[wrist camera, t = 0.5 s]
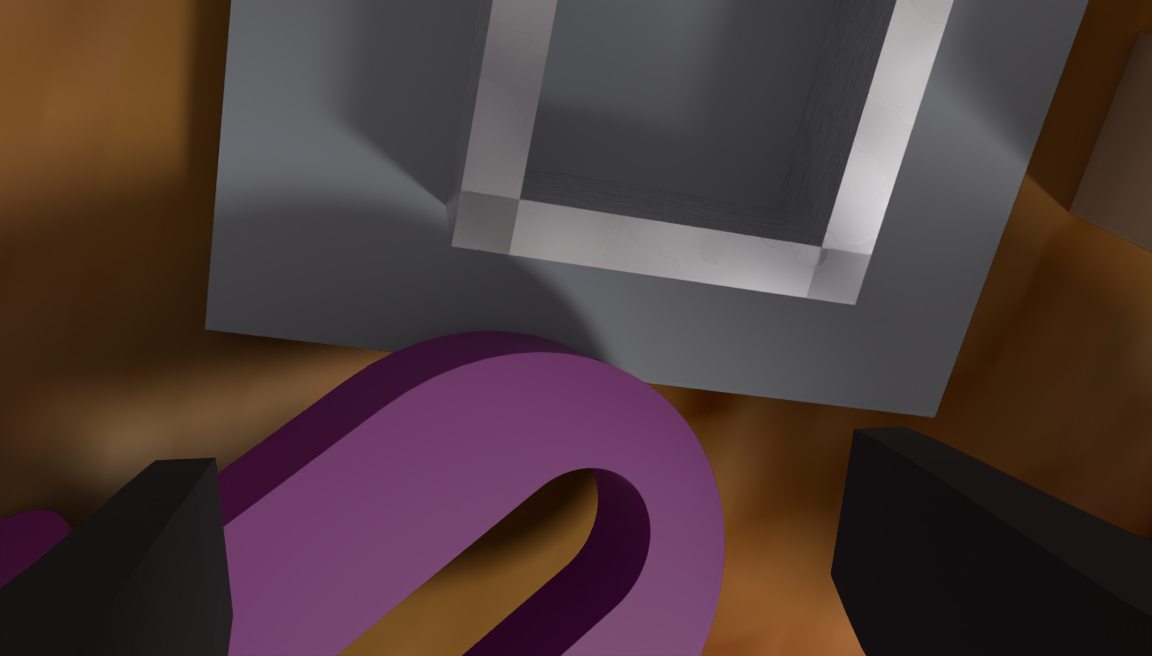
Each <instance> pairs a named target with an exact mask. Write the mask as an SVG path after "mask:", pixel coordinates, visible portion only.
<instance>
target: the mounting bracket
mask: <svg viewBox="0 0 1152 656" xmlns="http://www.w3.org/2000/svg"><path fill="white" fill-rule="evenodd" d="M583 468H591V469H592V471H593V473H594V476H595V479H596V484H597V489H598V507H597V514H596V519H595V522H594V525H593V528H592V531H591V533H590V535H589V537H588V539H587V541H586V543H585V544H584V546H583V548H582V549H581V550H580V552H579V553H578V554H577V555H576V557H575V558H574V559H573V560H572V561H571V562H570V563H569V564H568V565H567V566H566V567H564V568H563V569H562V570H561V571H560V572H559V573H558V574H556V575H555V576H554V577H553V578H552V579H551V580H549V581H548V582H547V583H546V584H545V585H544V586H542V587H541V588H540V589H539V590H538V591H537V592H535V593H534V594H533V595H532V596H531V597H530V598H528V599H527V600H526V601H525V602H524V603H523V604H521V605H520V606H519V607H518V608H517V609H516V610H515V611H513V612H512V613H511V614H510V615H509V616H508V617H506V618H505V619H504V620H503V621H502V622H501V623H499V624H498V625H497V626H496V627H495V628H494V629H492V630H491V631H490V632H489V633H488V634H487V635H485V636H484V637H483V638H482V639H481V640H480V641H478V642H477V643H476V644H475V645H474V646H473V647H472V648H470V649H469V650H468V651H467V652H466V653H465V654H463V655H462V656H700V655H701V652H702V650H703V647H704V645H705V642H706V640H707V637H708V635H709V631H710V628H711V625H712V622H713V618H714V615H715V612H716V607H717V603H718V598H719V594H720V589H721V582H722V574H723V567H724V545H725V539H724V522H723V514H722V507H721V501H720V496H719V492H718V488H717V484H716V481H715V477H714V474H713V471H712V469H711V466H710V464H709V461H708V459H707V456H706V454H705V452H704V450H703V448H702V446H701V444H700V443H699V441H698V439H697V437H696V435H695V434H694V432H693V431H692V430H691V428H690V427H689V425H688V424H687V422H686V421H685V420H684V418H683V417H682V416H681V415H680V414H679V413H678V411H677V410H676V409H675V408H674V407H673V406H672V405H671V404H670V403H669V402H668V401H667V400H666V399H665V398H664V397H663V396H661V395H660V394H659V393H658V392H657V391H655V390H654V389H653V388H652V387H650V386H649V385H647V384H646V383H644V382H643V381H641V380H640V379H638V378H637V377H635V376H633V375H631V374H629V373H627V372H625V371H623V370H621V369H619V368H617V367H615V366H612V365H610V364H608V363H605V362H603V361H601V360H598V359H596V358H593V357H591V356H589V355H586V354H584V353H582V352H579V351H577V350H574V349H572V348H570V347H567V346H565V345H562V344H560V343H557V342H554V341H551V340H548V339H545V338H542V337H538V336H533V335H528V334H523V333H518V332H505V331H474V332H464V333H458V334H451V335H445V336H441V337H437V338H434V339H430V340H426V341H423V342H419V343H416V344H414V345H411V346H409V347H406V348H404V349H401V350H399V351H396V352H394V353H392V354H390V355H388V356H386V357H384V358H382V359H380V360H378V361H376V362H374V363H372V364H370V365H369V366H367V367H366V368H364V369H363V370H361V371H360V372H358V373H357V374H355V375H353V376H352V377H350V378H349V379H347V380H346V381H344V382H343V383H342V384H340V385H339V386H338V387H336V388H335V389H333V390H332V391H331V392H329V393H328V394H327V395H325V396H324V397H323V398H321V399H320V400H318V401H317V402H316V403H314V404H313V405H312V406H310V407H309V408H307V409H306V410H305V411H303V412H302V413H301V414H299V415H298V416H296V417H295V418H294V419H292V420H291V421H290V422H288V423H287V424H285V425H284V426H283V427H281V428H280V429H279V430H277V431H276V432H274V433H273V434H272V435H270V436H269V437H268V438H266V439H265V440H264V441H262V442H261V443H259V444H258V445H257V446H255V447H254V448H253V449H251V450H250V451H248V452H247V453H246V454H244V455H243V456H242V457H240V458H239V459H237V460H236V461H235V462H233V463H232V464H231V465H229V466H228V467H226V468H225V469H224V470H222V471H221V472H220V473H218V482H219V491H220V500H221V509H222V518H223V527H224V536H225V545H226V554H227V563H228V572H229V581H230V590H231V598H232V607H233V622H232V629H231V636H230V644H229V651H228V656H336V655H337V654H339V653H340V652H341V651H342V650H343V649H345V648H346V647H347V646H348V645H349V644H351V643H352V642H353V641H354V640H356V639H357V638H358V637H359V636H360V635H362V634H363V633H364V632H365V631H366V630H368V629H369V628H370V627H371V626H373V625H374V624H375V623H376V622H377V621H379V620H380V619H381V618H382V617H383V616H385V615H386V614H387V613H388V612H390V611H391V610H392V609H393V608H394V607H396V606H397V605H398V604H399V603H401V602H402V601H403V600H404V599H405V598H407V597H408V596H409V595H410V594H411V593H413V592H414V591H415V590H416V589H418V588H419V587H420V586H421V585H422V584H424V583H425V582H426V581H427V580H428V579H430V578H431V577H432V576H433V575H435V574H436V573H437V572H438V571H439V570H441V569H442V568H443V567H444V566H445V565H447V564H448V563H449V562H450V561H452V560H453V559H454V558H455V557H456V556H458V555H459V554H460V553H461V552H462V551H464V550H465V549H466V548H467V547H469V546H470V545H471V544H472V543H473V542H475V541H476V540H477V539H478V538H480V537H481V536H482V535H483V534H484V533H486V532H487V531H488V530H489V529H490V528H492V527H493V526H494V525H495V524H497V523H498V522H499V521H500V520H501V519H503V518H504V517H505V516H506V515H507V514H509V513H510V512H511V511H512V510H514V509H515V508H516V507H517V506H518V505H520V504H521V503H522V502H523V501H524V500H526V499H527V498H528V497H529V496H531V495H532V494H533V493H534V492H535V491H537V490H538V489H539V488H540V487H542V486H543V485H544V484H546V483H547V482H549V481H550V480H552V479H554V478H555V477H557V476H560V475H562V474H564V473H567V472H570V471H573V470H577V469H583ZM73 530H74V529H73V528H72V527H71V526H70V525H69V524H68V523H67V522H66V521H65V520H64V519H63V518H62V516H61V515H59V514H57V513H56V512H53V511H49V510H34V511H27V512H23V513H19V514H15V515H12V516H9V517H6V518H3V519H0V588H1V587H3V586H4V585H5V584H7V583H8V582H9V581H10V580H12V579H13V578H14V577H16V576H17V575H18V574H20V573H21V572H22V571H24V570H25V569H26V568H28V567H29V566H30V565H32V564H33V563H34V562H36V561H37V560H38V559H39V558H41V557H42V556H43V555H44V554H45V553H47V552H48V551H49V550H50V549H51V548H53V547H54V546H55V545H56V544H57V543H59V542H60V541H61V540H62V539H63V538H65V537H66V536H67V535H68V534H69V533H70V532H72V531H73Z"/></svg>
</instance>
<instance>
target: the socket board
mask: <svg viewBox="0 0 1152 656" xmlns="http://www.w3.org/2000/svg"><path fill="white" fill-rule="evenodd" d="M1088 2H1089V0H231V10H230V22H229V35H228V47H227V60H226V72H225V85H224V97H223V110H222V122H221V135H220V147H219V159H218V172H217V184H216V197H215V209H214V222H213V234H212V247H211V259H210V272H209V284H208V297H207V309H206V321H205V329H206V330H214V331H222V332H230V333H239V334H247V335H255V336H264V337H272V338H280V339H288V340H297V341H305V342H313V343H321V344H330V345H338V346H346V347H355V348H363V349H371V350H379V351H388V352H396V351H399V350H401V349H404V348H406V347H409V346H411V345H414V344H416V343H419V342H423V341H426V340H430V339H434V338H437V337H441V336H445V335H451V334H458V333H464V332H474V331H505V332H518V333H523V334H528V335H533V336H538V337H542V338H545V339H548V340H551V341H554V342H557V343H560V344H562V345H565V346H567V347H570V348H572V349H574V350H577V351H579V352H582V353H584V354H586V355H589V356H591V357H593V358H596V359H598V360H601V361H603V362H605V363H608V364H610V365H612V366H615V367H617V368H619V369H621V370H623V371H625V372H627V373H629V374H631V375H633V376H635V377H637V378H638V379H640V380H641V381H643V382H644V383H652V384H661V385H669V386H677V387H685V388H694V389H702V390H710V391H718V392H727V393H735V394H743V395H752V396H760V397H768V398H776V399H785V400H793V401H801V402H809V403H818V404H826V405H834V406H843V407H851V408H859V409H867V410H876V411H884V412H892V413H900V414H909V415H917V416H925V417H934V418H935V416H936V413H937V410H938V407H939V405H940V402H941V399H942V397H943V394H944V391H945V388H946V386H947V383H948V380H949V378H950V375H951V372H952V370H953V367H954V364H955V361H956V359H957V356H958V353H959V351H960V348H961V345H962V342H963V340H964V337H965V334H966V332H967V329H968V326H969V324H970V321H971V318H972V315H973V313H974V310H975V307H976V305H977V302H978V299H979V296H980V294H981V291H982V288H983V286H984V283H985V280H986V278H987V275H988V272H989V269H990V267H991V264H992V261H993V259H994V256H995V253H996V250H997V248H998V245H999V242H1000V240H1001V237H1002V234H1003V232H1004V229H1005V226H1006V223H1007V221H1008V218H1009V215H1010V213H1011V210H1012V207H1013V204H1014V202H1015V199H1016V196H1017V194H1018V191H1019V188H1020V186H1021V183H1022V180H1023V177H1024V175H1025V172H1026V169H1027V167H1028V164H1029V161H1030V158H1031V156H1032V153H1033V150H1034V148H1035V145H1036V142H1037V140H1038V137H1039V134H1040V131H1041V129H1042V126H1043V123H1044V121H1045V118H1046V115H1047V112H1048V110H1049V107H1050V104H1051V102H1052V99H1053V96H1054V94H1055V91H1056V88H1057V85H1058V83H1059V80H1060V77H1061V75H1062V72H1063V69H1064V66H1065V64H1066V61H1067V58H1068V56H1069V53H1070V50H1071V48H1072V45H1073V42H1074V39H1075V37H1076V34H1077V31H1078V29H1079V26H1080V23H1081V20H1082V18H1083V15H1084V12H1085V10H1086V7H1087V4H1088Z"/></svg>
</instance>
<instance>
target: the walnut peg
mask: <svg viewBox="0 0 1152 656" xmlns="http://www.w3.org/2000/svg"><path fill="white" fill-rule="evenodd" d="M1069 213H1070V214H1072V215H1074V216H1076V217H1078V218H1080V219H1082V220H1085V221H1087V222H1089V223H1091V224H1093V225H1095V226H1097V227H1099V228H1101V229H1103V230H1105V231H1108V232H1110V233H1112V234H1114V235H1116V236H1118V237H1120V238H1122V239H1124V240H1126V241H1128V242H1131V243H1133V244H1135V245H1137V246H1139V247H1141V248H1143V249H1145V250H1147V251H1149V252H1152V34H1149V33H1144V32H1139V34H1138V36H1137V39H1136V41H1135V44H1134V46H1133V49H1132V52H1131V54H1130V57H1129V59H1128V62H1127V64H1126V67H1125V69H1124V72H1123V75H1122V77H1121V80H1120V82H1119V85H1118V87H1117V90H1116V92H1115V95H1114V98H1113V100H1112V103H1111V105H1110V108H1109V110H1108V113H1107V116H1106V118H1105V121H1104V123H1103V126H1102V128H1101V131H1100V133H1099V136H1098V139H1097V141H1096V144H1095V146H1094V149H1093V151H1092V154H1091V156H1090V159H1089V162H1088V164H1087V167H1086V169H1085V172H1084V174H1083V177H1082V180H1081V182H1080V185H1079V187H1078V190H1077V192H1076V195H1075V197H1074V200H1073V203H1072V205H1071V208H1070V210H1069Z"/></svg>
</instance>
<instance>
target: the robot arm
mask: <svg viewBox="0 0 1152 656" xmlns="http://www.w3.org/2000/svg"><path fill="white" fill-rule="evenodd" d="M831 576H832V579H833V581H834V584H835V586H836V589H837V591H838V594H839V596H840V599H841V601H842V604H843V606H844V609H845V611H846V614H847V616H848V618H849V621H850V623H851V625H852V627H853V630H854V632H855V634H856V636H857V639H858V641H859V643H860V645H861V648H862V649H863V651H864V653H865V655H866V656H1152V542H1151V541H1149V540H1147V539H1145V538H1142V537H1140V536H1138V535H1135V534H1133V533H1131V532H1129V531H1126V530H1124V529H1122V528H1119V527H1117V526H1115V525H1113V524H1110V523H1108V522H1106V521H1103V520H1101V519H1099V518H1097V517H1095V516H1093V515H1091V514H1088V513H1086V512H1084V511H1082V510H1080V509H1078V508H1076V507H1073V506H1071V505H1069V504H1067V503H1065V502H1063V501H1061V500H1059V499H1057V498H1055V497H1053V496H1051V495H1049V494H1046V493H1044V492H1042V491H1040V490H1038V489H1036V488H1034V487H1032V486H1030V485H1028V484H1026V483H1024V482H1022V481H1020V480H1018V479H1016V478H1014V477H1012V476H1010V475H1008V474H1006V473H1004V472H1002V471H1000V470H998V469H996V468H994V467H992V466H990V465H988V464H986V463H984V462H982V461H980V460H978V459H976V458H974V457H971V456H969V455H967V454H965V453H963V452H961V451H959V450H957V449H955V448H953V447H950V446H948V445H946V444H944V443H942V442H940V441H937V440H935V439H933V438H931V437H928V436H926V435H923V434H921V433H918V432H915V431H913V430H910V429H907V428H904V427H894V428H872V429H854V433H853V440H852V446H851V452H850V458H849V464H848V470H847V477H846V483H845V489H844V495H843V501H842V507H841V514H840V520H839V526H838V532H837V538H836V545H835V551H834V557H833V563H832V569H831ZM232 622H233V607H232V598H231V590H230V581H229V572H228V563H227V554H226V545H225V536H224V527H223V518H222V509H221V500H220V491H219V482H218V473H217V464H216V458H198V459H175V460H156V461H154V462H153V463H152V464H150V465H149V466H148V467H147V468H145V469H144V470H143V471H142V472H140V473H139V474H138V475H137V476H136V477H135V478H133V479H132V480H131V481H130V482H129V483H128V484H126V485H125V486H124V487H123V488H122V489H121V490H119V491H118V492H117V493H116V494H115V495H114V496H113V497H111V498H110V499H109V500H108V501H107V502H106V503H105V504H103V505H102V506H101V507H100V508H99V509H98V510H97V511H95V512H94V513H93V514H92V515H91V516H90V517H88V518H87V519H86V520H85V521H84V522H82V523H81V524H80V525H79V526H78V527H76V528H75V529H74V530H73V531H72V532H70V533H69V534H68V535H67V536H66V537H65V538H63V539H62V540H61V541H60V542H59V543H57V544H56V545H55V546H54V547H53V548H51V549H50V550H49V551H48V552H47V553H45V554H44V555H43V556H42V557H41V558H39V559H38V560H37V561H36V562H34V563H33V564H32V565H30V566H29V567H28V568H26V569H25V570H24V571H22V572H21V573H20V574H18V575H17V576H16V577H14V578H13V579H12V580H10V581H9V582H8V583H7V584H5V585H4V586H3V587H1V588H0V656H228V651H229V644H230V636H231V629H232Z"/></svg>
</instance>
